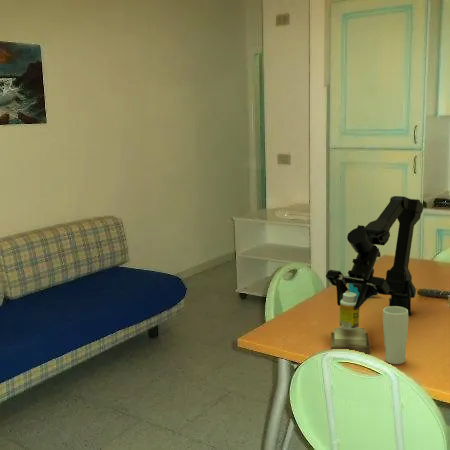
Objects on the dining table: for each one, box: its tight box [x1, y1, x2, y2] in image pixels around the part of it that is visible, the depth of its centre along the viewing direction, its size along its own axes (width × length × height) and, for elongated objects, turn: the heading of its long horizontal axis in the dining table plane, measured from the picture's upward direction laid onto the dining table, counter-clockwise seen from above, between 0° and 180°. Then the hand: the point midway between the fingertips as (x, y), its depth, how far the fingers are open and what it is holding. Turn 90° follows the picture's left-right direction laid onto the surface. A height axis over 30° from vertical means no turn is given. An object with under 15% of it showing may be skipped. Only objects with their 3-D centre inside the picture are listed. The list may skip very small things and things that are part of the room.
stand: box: [330, 327, 371, 355], centre depth 175 cm, size 11×11×4 cm
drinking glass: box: [382, 305, 409, 365], centre depth 162 cm, size 7×7×15 cm
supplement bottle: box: [339, 291, 360, 330], centre depth 173 cm, size 6×6×10 cm
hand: (347, 306), depth 172 cm, fingers closed on supplement bottle, 5 cm apart
